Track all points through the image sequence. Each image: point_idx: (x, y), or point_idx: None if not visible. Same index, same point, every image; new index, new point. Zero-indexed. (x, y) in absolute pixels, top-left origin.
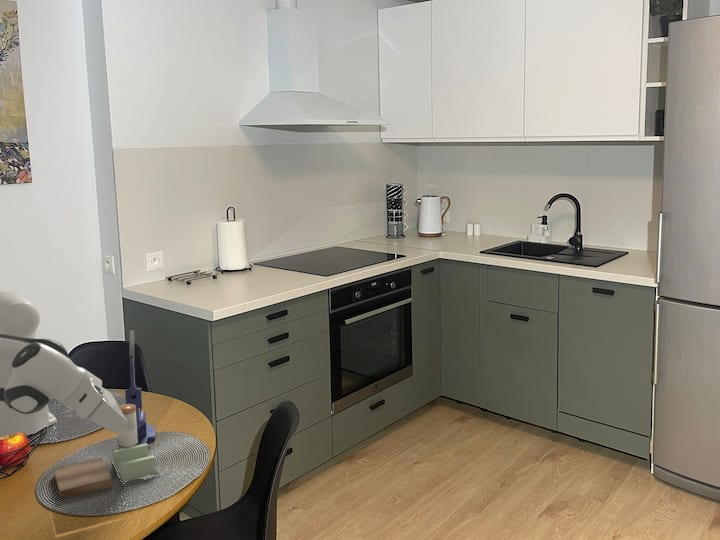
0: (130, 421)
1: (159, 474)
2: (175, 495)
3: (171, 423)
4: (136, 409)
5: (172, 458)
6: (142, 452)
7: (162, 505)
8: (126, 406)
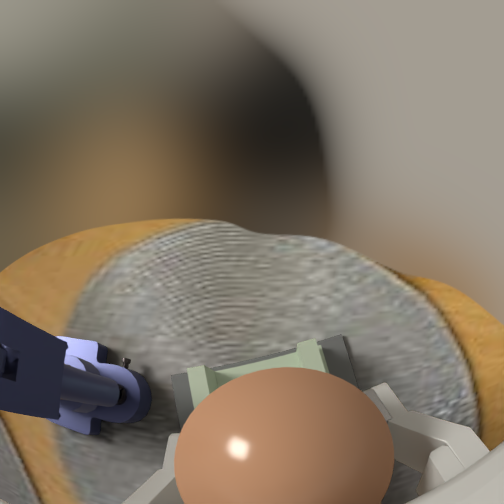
0: (398, 409)
1: (327, 339)
2: (429, 292)
3: (45, 298)
4: (63, 371)
5: (223, 307)
6: (214, 387)
7: (464, 317)
8: (249, 467)
